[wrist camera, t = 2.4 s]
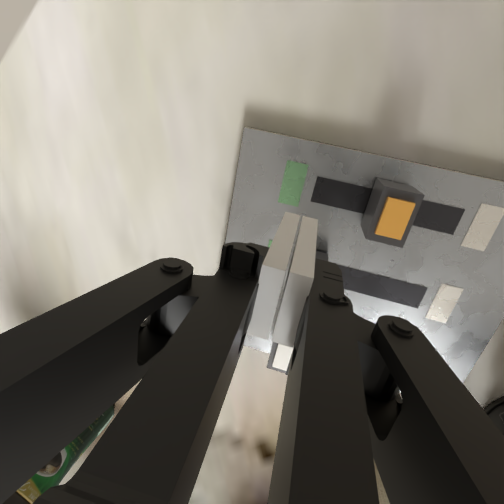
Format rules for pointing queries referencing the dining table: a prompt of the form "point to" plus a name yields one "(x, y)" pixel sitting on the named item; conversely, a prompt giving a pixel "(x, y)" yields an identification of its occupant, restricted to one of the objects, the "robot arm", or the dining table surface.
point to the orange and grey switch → (391, 212)
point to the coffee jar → (60, 463)
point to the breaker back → (279, 357)
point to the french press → (497, 413)
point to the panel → (379, 254)
